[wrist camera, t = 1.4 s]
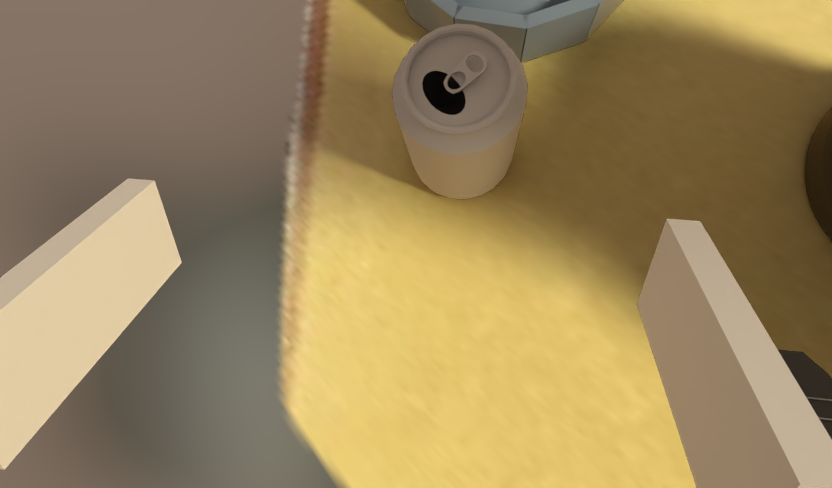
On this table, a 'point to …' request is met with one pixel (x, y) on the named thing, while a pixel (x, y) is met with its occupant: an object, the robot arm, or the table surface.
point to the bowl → (519, 20)
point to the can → (460, 108)
